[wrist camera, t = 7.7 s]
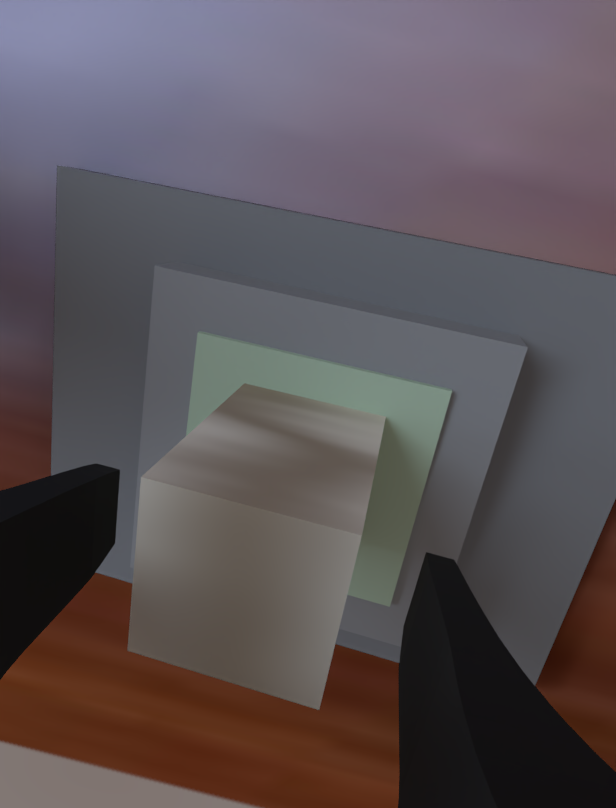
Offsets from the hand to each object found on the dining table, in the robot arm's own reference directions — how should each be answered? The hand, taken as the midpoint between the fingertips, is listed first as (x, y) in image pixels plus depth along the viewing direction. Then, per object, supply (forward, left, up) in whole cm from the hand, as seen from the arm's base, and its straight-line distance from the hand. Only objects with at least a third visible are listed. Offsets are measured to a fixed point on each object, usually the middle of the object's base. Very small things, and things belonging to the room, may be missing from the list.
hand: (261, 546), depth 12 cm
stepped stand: (0, 0, -6) cm, 6 cm away
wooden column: (0, 0, -4) cm, 4 cm away
